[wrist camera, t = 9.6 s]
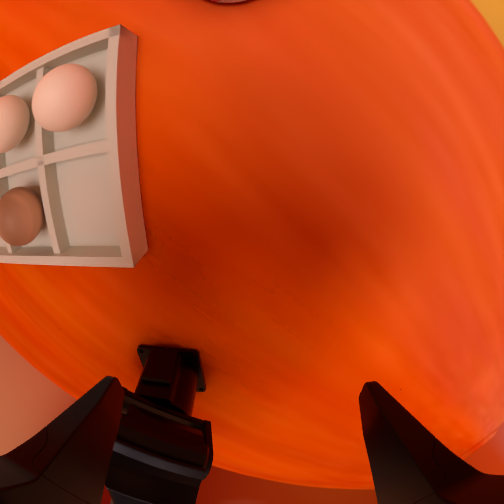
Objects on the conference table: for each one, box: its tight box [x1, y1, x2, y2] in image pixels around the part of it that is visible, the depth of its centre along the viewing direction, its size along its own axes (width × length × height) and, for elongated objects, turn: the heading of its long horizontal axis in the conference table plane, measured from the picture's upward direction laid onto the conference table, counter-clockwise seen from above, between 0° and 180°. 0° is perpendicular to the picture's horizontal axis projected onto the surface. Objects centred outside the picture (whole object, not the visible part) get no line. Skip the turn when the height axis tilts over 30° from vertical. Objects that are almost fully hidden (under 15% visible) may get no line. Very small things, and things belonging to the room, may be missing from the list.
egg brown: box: [0, 187, 44, 246], centre depth 16 cm, size 5×5×5 cm
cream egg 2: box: [32, 64, 97, 132], centre depth 12 cm, size 5×5×5 cm
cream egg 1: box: [0, 95, 30, 153], centre depth 12 cm, size 5×5×5 cm
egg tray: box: [0, 24, 148, 268], centre depth 16 cm, size 17×22×3 cm
